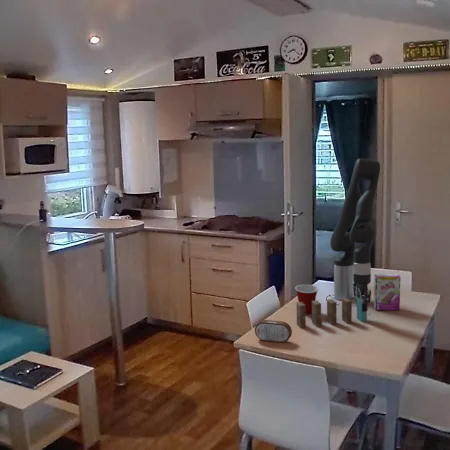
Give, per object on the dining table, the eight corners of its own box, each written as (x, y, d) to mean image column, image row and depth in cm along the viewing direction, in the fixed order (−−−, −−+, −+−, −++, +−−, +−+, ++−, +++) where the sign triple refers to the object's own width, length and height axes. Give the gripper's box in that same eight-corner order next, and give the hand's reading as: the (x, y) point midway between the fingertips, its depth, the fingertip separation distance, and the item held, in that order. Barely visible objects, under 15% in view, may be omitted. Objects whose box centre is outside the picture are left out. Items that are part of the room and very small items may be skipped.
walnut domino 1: (300, 328, 242) (300, 305, 240) (296, 324, 247) (296, 302, 245) (305, 327, 242) (305, 305, 241) (302, 323, 247) (301, 301, 246)
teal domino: (361, 322, 247) (361, 300, 245) (356, 318, 252) (356, 297, 250) (366, 321, 247) (366, 299, 246) (361, 318, 252) (361, 296, 251)
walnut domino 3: (331, 325, 244) (331, 302, 243) (327, 321, 249) (327, 299, 248) (336, 324, 245) (336, 302, 243) (332, 320, 250) (332, 299, 248)
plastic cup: (303, 317, 256) (303, 291, 254) (291, 311, 265) (290, 286, 263) (323, 313, 260) (323, 288, 258) (310, 307, 270) (310, 283, 268)
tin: (292, 341, 227) (291, 321, 226) (290, 344, 224) (290, 323, 223) (256, 338, 232) (255, 318, 231) (254, 340, 229) (253, 321, 228)
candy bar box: (375, 310, 262) (375, 276, 259) (373, 307, 266) (374, 273, 264) (400, 310, 260) (400, 276, 258) (398, 307, 265) (398, 273, 263)
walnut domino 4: (346, 323, 246) (346, 301, 244) (342, 319, 251) (342, 298, 249) (351, 323, 246) (351, 300, 245) (347, 319, 251) (347, 297, 249)
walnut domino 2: (315, 326, 243) (315, 304, 242) (312, 322, 248) (311, 300, 246) (321, 326, 244) (321, 303, 242) (317, 322, 249) (317, 300, 247)
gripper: (377, 275, 240) (376, 313, 243) (363, 267, 254) (362, 303, 256) (360, 276, 238) (360, 315, 241) (347, 269, 252) (347, 305, 255)
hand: (361, 309), depth 249 cm, fingers open, 5 cm apart
